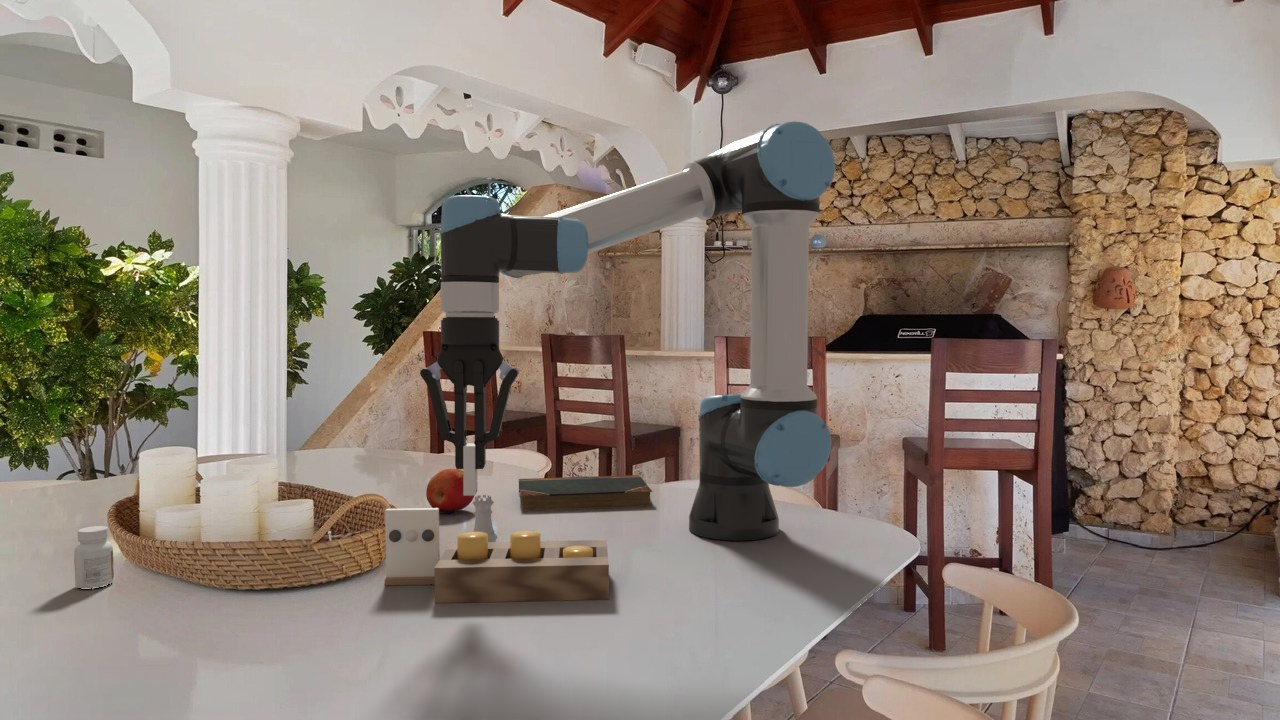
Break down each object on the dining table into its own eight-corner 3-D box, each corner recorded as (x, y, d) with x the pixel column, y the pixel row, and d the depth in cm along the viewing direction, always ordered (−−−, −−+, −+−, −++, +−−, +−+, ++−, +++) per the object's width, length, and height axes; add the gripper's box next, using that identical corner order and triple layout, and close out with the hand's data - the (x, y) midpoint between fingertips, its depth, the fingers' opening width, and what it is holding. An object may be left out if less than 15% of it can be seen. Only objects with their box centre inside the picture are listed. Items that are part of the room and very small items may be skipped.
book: (520, 514, 158) (652, 509, 162) (519, 494, 158) (652, 490, 162) (518, 494, 176) (638, 490, 180) (518, 477, 175) (638, 473, 179)
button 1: (489, 562, 116) (489, 531, 116) (486, 570, 112) (485, 539, 112) (460, 562, 116) (459, 531, 116) (455, 571, 112) (455, 539, 112)
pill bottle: (121, 582, 116) (119, 526, 116) (91, 592, 112) (89, 534, 112) (97, 579, 118) (96, 523, 117) (67, 588, 114) (65, 531, 113)
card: (441, 577, 118) (440, 506, 118) (437, 584, 115) (436, 511, 115) (389, 578, 118) (388, 507, 117) (384, 585, 115) (383, 512, 114)
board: (606, 571, 121) (606, 540, 121) (608, 599, 109) (608, 564, 109) (450, 574, 120) (449, 542, 120) (434, 603, 108) (434, 567, 108)
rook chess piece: (491, 551, 132) (491, 500, 131) (464, 550, 132) (464, 498, 132) (502, 543, 136) (501, 494, 135) (475, 542, 137) (475, 493, 136)
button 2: (592, 575, 117) (592, 545, 117) (592, 585, 113) (592, 553, 113) (563, 576, 117) (563, 546, 117) (562, 585, 113) (562, 554, 113)
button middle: (541, 561, 117) (541, 530, 116) (539, 569, 113) (539, 538, 112) (511, 561, 116) (511, 531, 116) (509, 570, 112) (508, 538, 112)
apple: (481, 510, 159) (481, 468, 158) (449, 519, 152) (448, 475, 151) (450, 505, 163) (450, 464, 163) (417, 514, 156) (417, 470, 156)
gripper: (522, 316, 116) (522, 487, 118) (425, 315, 116) (426, 487, 117) (517, 316, 109) (517, 499, 110) (414, 315, 108) (415, 499, 109)
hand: (470, 493), depth 113 cm, fingers closed
